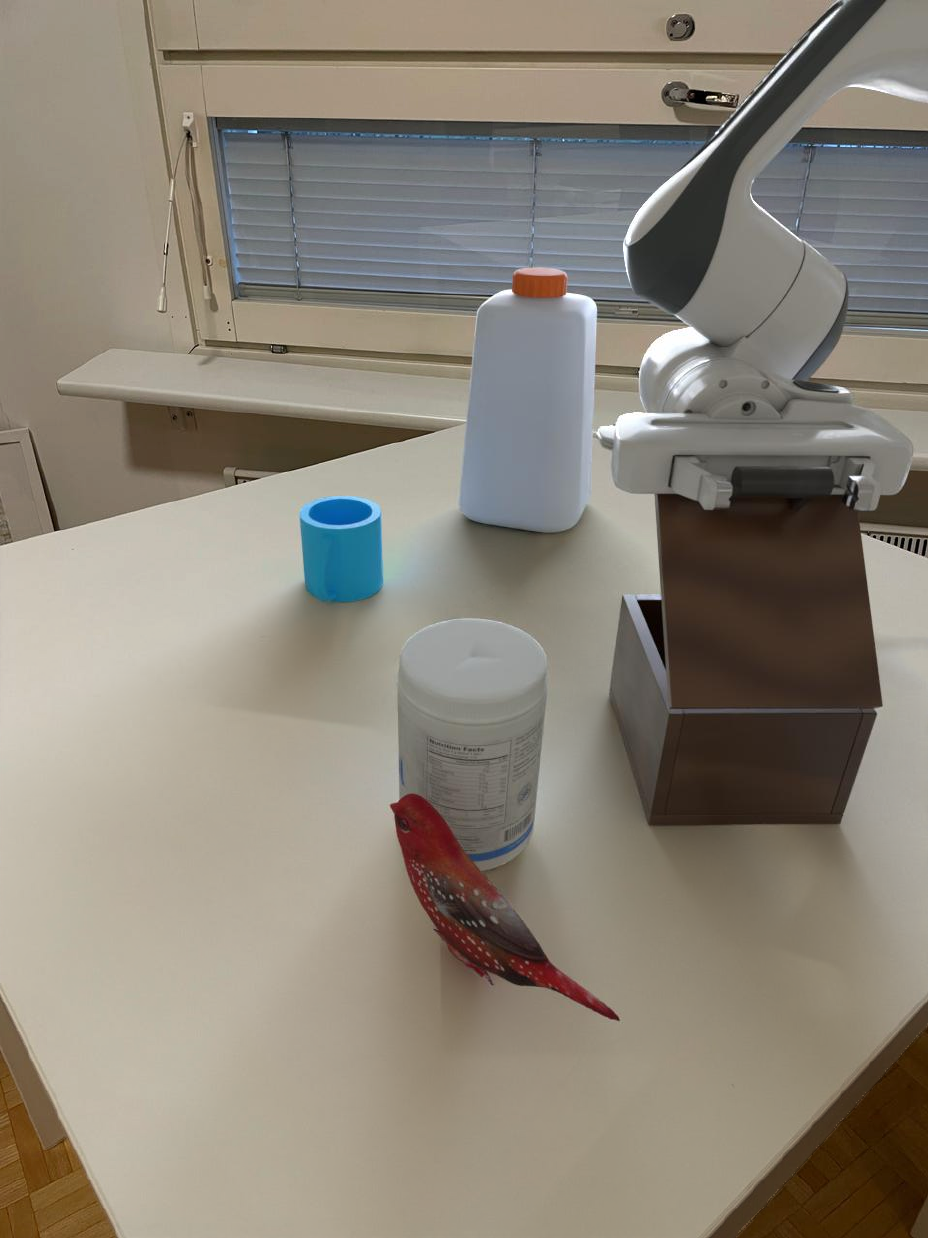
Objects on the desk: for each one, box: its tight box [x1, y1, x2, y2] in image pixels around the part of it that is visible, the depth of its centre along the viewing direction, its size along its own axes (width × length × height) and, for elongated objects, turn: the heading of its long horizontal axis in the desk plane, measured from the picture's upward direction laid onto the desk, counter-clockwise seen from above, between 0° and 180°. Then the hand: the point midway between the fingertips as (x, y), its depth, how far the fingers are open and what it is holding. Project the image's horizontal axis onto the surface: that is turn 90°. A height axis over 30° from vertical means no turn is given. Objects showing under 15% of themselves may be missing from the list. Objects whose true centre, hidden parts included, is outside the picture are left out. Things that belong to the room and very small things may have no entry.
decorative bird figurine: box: [389, 793, 621, 1022], centre depth 48 cm, size 3×18×10 cm, turn 43°
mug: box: [298, 495, 384, 603], centre depth 88 cm, size 12×8×8 cm
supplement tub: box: [396, 617, 549, 872], centre depth 58 cm, size 10×10×15 cm
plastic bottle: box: [458, 267, 598, 534], centre depth 102 cm, size 15×15×28 cm
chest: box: [608, 593, 878, 826], centre depth 67 cm, size 16×14×10 cm
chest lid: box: [653, 466, 884, 709], centre depth 57 cm, size 17×14×6 cm
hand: (794, 499), depth 54 cm, fingers open, 8 cm apart
